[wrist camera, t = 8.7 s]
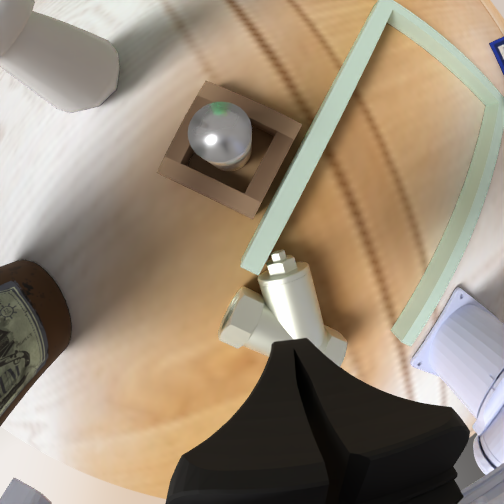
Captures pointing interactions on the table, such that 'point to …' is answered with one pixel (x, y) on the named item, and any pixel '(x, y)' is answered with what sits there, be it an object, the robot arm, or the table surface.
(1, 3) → the salt shaker
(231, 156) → the pin
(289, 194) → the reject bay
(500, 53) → the milk carton
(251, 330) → the pipe fitting
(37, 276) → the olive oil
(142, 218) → the table surface
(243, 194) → the tan square frame
